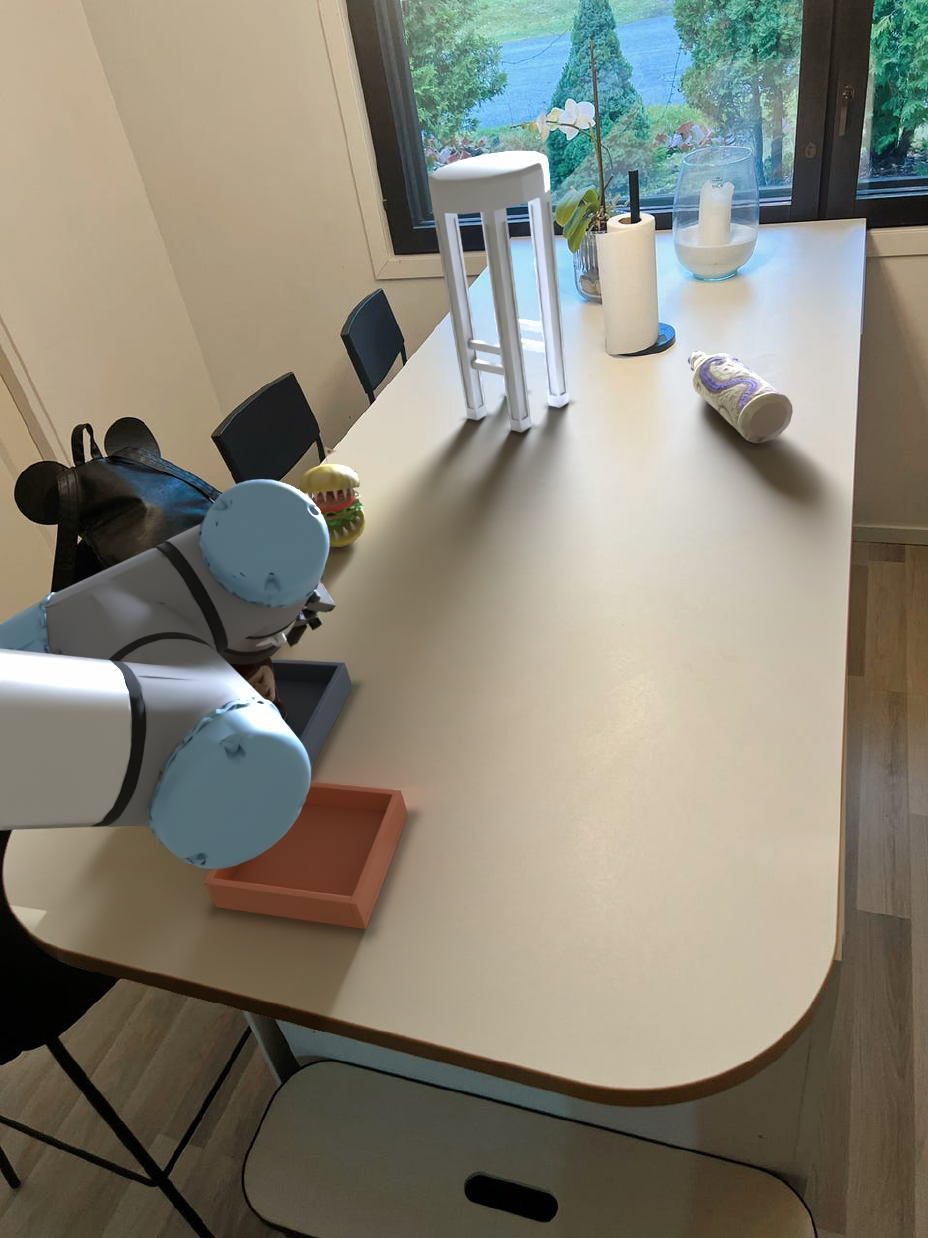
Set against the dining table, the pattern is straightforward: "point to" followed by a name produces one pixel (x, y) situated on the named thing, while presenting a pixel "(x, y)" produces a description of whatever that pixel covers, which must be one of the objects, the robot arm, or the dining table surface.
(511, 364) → the stool
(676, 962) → the dining table surface
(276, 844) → the terracotta tray
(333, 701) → the slate tray
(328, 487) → the hamburger
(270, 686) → the labeled brown jar
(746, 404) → the decorative bottle
